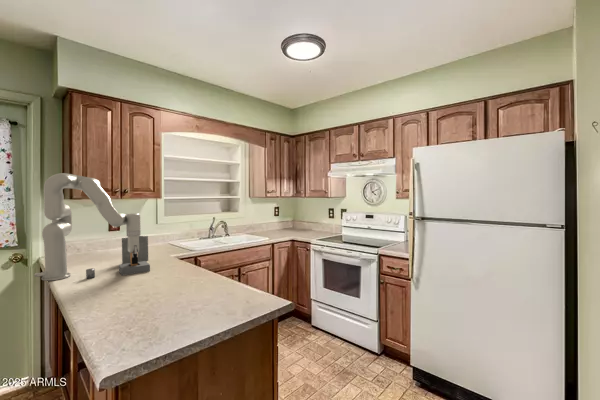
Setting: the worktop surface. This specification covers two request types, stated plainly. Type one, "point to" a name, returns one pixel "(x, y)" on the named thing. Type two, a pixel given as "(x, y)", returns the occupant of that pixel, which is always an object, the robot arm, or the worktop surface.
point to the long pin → (131, 259)
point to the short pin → (90, 273)
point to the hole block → (134, 268)
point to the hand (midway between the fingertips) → (134, 262)
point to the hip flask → (141, 254)
